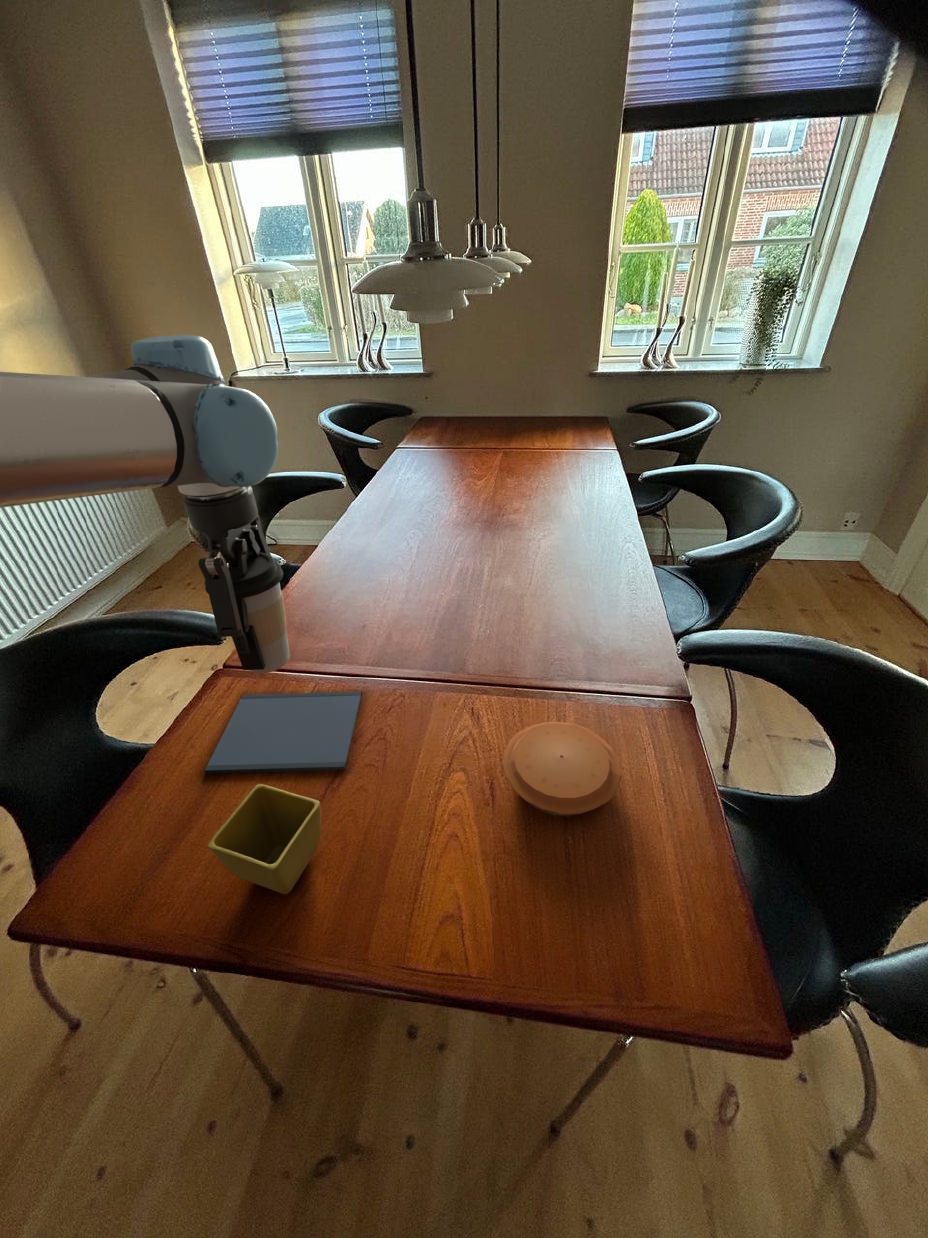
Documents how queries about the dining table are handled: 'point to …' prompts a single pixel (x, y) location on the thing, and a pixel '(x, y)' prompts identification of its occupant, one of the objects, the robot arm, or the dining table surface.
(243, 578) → the coffee cup
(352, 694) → the cup mat
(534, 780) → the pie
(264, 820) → the flower pot
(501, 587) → the dining table surface
